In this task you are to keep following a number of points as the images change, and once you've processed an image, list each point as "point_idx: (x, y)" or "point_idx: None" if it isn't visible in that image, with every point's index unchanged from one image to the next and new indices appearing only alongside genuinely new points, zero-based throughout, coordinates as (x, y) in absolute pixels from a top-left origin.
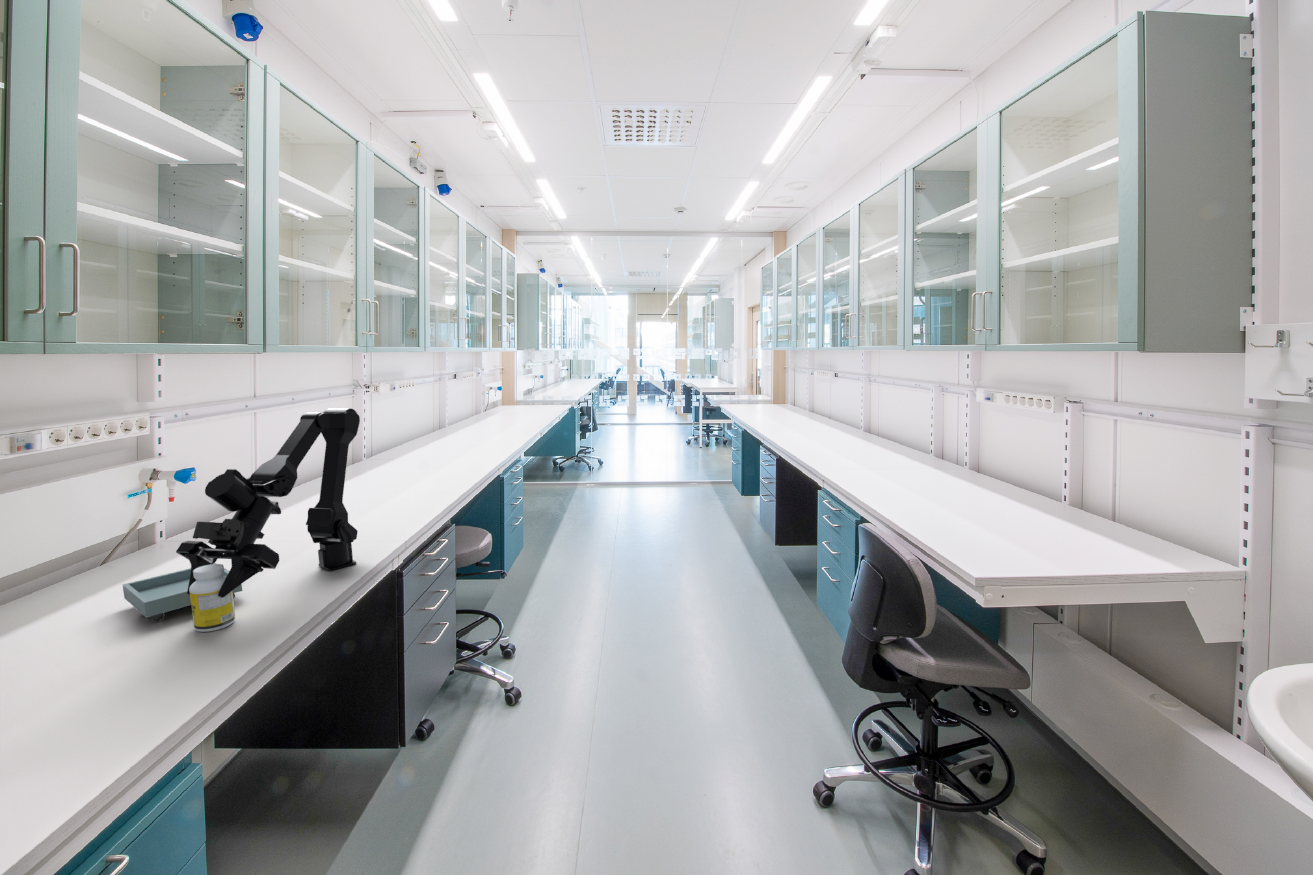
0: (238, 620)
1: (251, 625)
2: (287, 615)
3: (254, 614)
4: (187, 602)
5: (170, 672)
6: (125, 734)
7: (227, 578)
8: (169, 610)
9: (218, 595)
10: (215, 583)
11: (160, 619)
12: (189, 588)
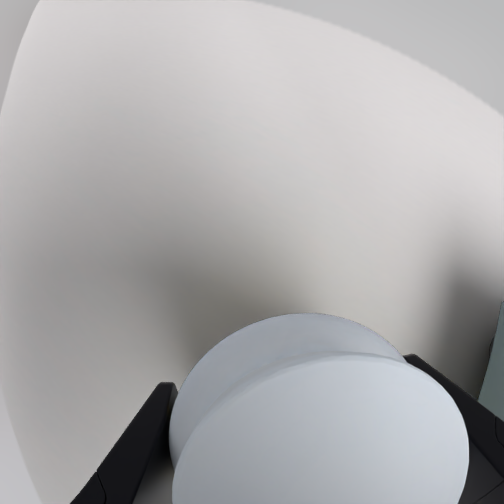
0: None
1: None
2: None
3: None
4: None
5: (123, 129)
6: (59, 39)
7: (122, 471)
8: (489, 366)
9: (170, 382)
10: (192, 417)
11: (491, 351)
12: (424, 371)
